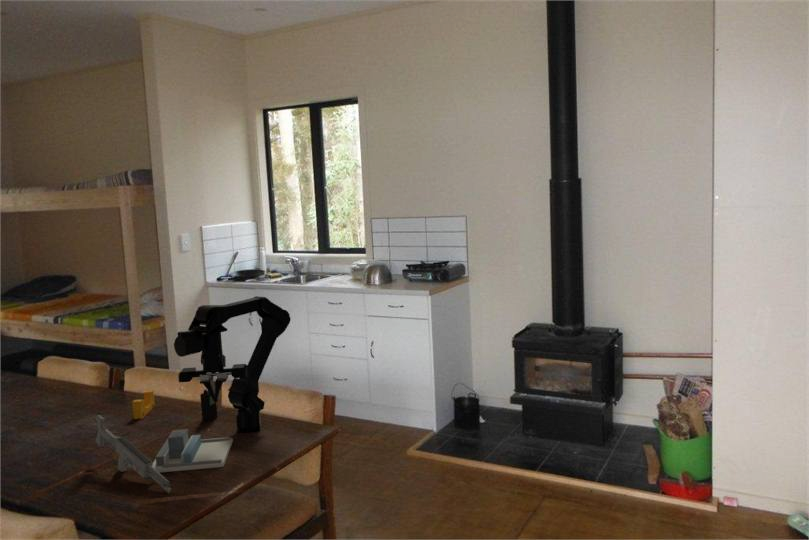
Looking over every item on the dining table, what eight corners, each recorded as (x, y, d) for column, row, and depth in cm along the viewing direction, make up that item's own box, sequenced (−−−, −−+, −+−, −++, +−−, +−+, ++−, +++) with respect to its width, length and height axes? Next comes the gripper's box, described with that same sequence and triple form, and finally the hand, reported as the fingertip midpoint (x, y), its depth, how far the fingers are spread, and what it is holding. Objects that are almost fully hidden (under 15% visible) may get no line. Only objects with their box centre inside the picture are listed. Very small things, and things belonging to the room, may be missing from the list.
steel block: (189, 449, 183) (187, 428, 183) (184, 457, 177) (183, 436, 177) (174, 450, 183) (172, 430, 182) (169, 459, 177) (167, 437, 176)
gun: (176, 510, 161) (178, 475, 159) (163, 515, 159) (165, 480, 156) (105, 444, 183) (105, 412, 180) (92, 448, 180) (93, 416, 177)
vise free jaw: (201, 443, 187) (200, 434, 187) (191, 462, 174) (190, 453, 173) (192, 443, 187) (191, 435, 187) (181, 463, 173) (181, 454, 173)
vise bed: (232, 441, 191) (231, 430, 190) (223, 466, 173) (222, 454, 172) (165, 447, 188) (164, 435, 188) (148, 473, 171) (147, 460, 170)
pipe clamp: (142, 409, 225) (140, 391, 225) (155, 408, 226) (153, 390, 225) (128, 421, 214) (126, 402, 213) (142, 420, 214) (140, 401, 213)
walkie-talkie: (210, 423, 207) (206, 377, 206) (201, 422, 208) (197, 376, 207) (218, 418, 212) (215, 373, 210) (210, 417, 213) (206, 372, 211)
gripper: (248, 340, 197) (251, 391, 199) (184, 345, 195) (188, 396, 197) (243, 349, 186) (247, 402, 188) (175, 353, 184) (180, 407, 186)
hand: (216, 401), depth 190 cm, fingers closed
